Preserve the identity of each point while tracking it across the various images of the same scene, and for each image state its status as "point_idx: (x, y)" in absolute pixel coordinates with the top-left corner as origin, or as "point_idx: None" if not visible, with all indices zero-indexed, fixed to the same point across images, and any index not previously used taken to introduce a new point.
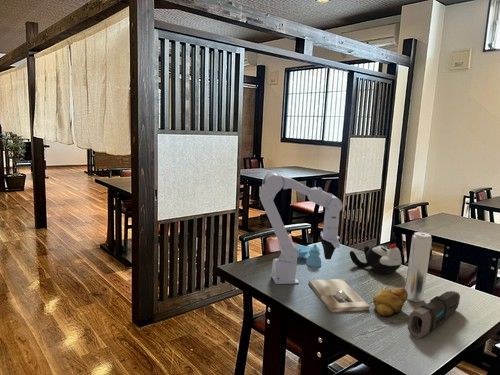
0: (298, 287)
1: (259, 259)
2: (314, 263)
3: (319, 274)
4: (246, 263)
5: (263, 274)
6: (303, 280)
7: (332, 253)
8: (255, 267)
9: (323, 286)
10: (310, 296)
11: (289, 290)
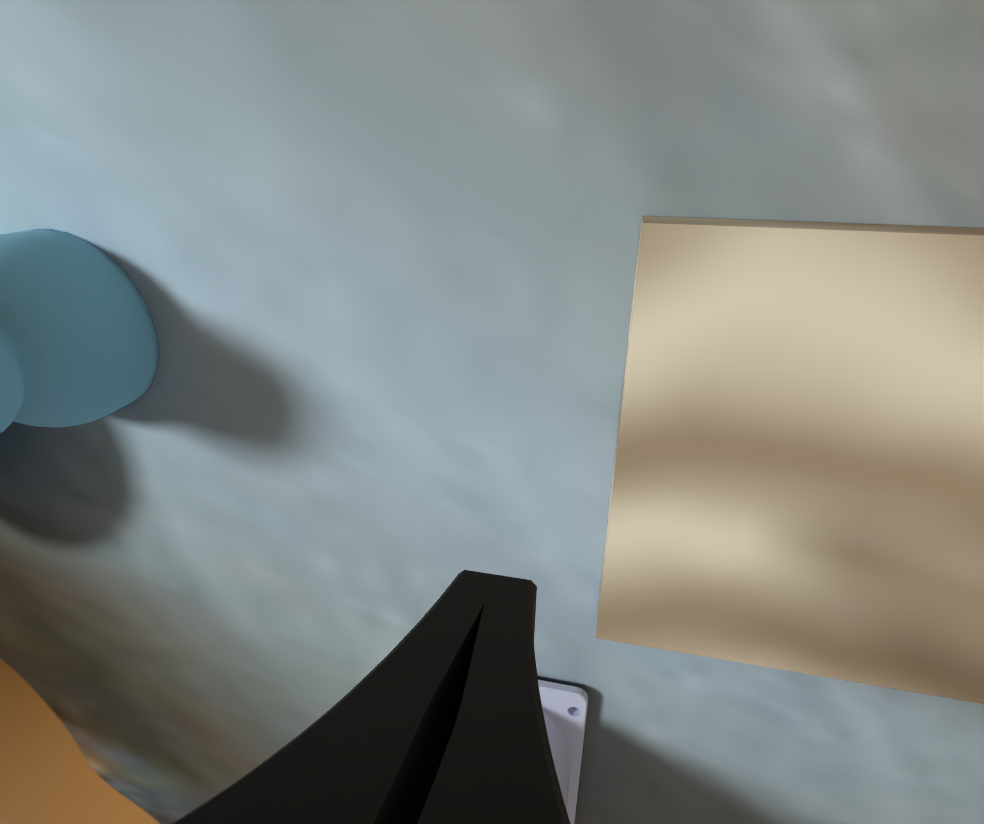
0: (662, 718)
1: (100, 726)
2: (125, 367)
3: (373, 394)
4: None
5: None
6: None
7: (539, 705)
8: None
9: (807, 584)
10: (884, 719)
11: (703, 798)
